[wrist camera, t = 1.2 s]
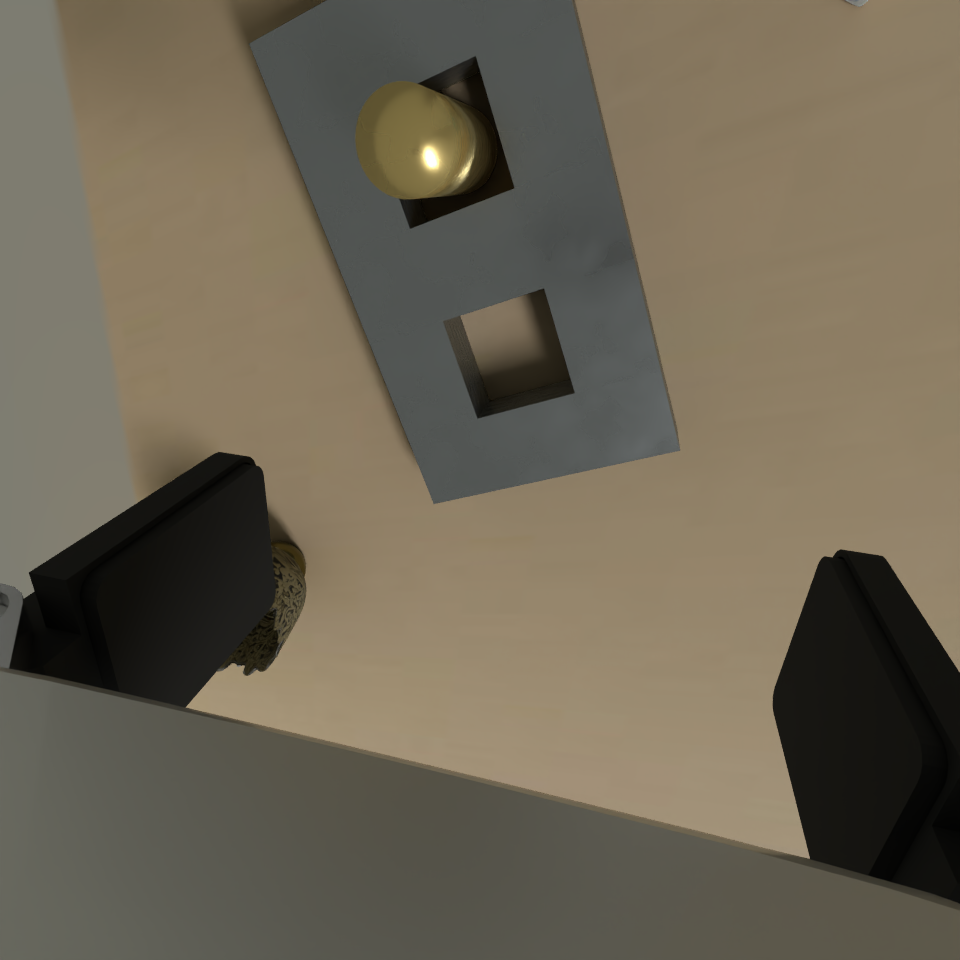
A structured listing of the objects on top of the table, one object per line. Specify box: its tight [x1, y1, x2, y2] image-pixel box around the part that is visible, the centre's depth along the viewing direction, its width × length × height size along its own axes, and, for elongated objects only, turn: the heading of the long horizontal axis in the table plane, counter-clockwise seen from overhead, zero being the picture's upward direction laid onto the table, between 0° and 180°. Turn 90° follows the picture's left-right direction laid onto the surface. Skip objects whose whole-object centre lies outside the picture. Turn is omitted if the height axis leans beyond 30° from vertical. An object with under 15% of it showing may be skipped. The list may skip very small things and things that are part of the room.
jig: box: [249, 0, 680, 504], centre depth 31 cm, size 14×24×3 cm, turn 20°
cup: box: [217, 541, 306, 676], centre depth 41 cm, size 8×7×8 cm
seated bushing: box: [355, 81, 497, 199], centre depth 28 cm, size 4×4×8 cm
